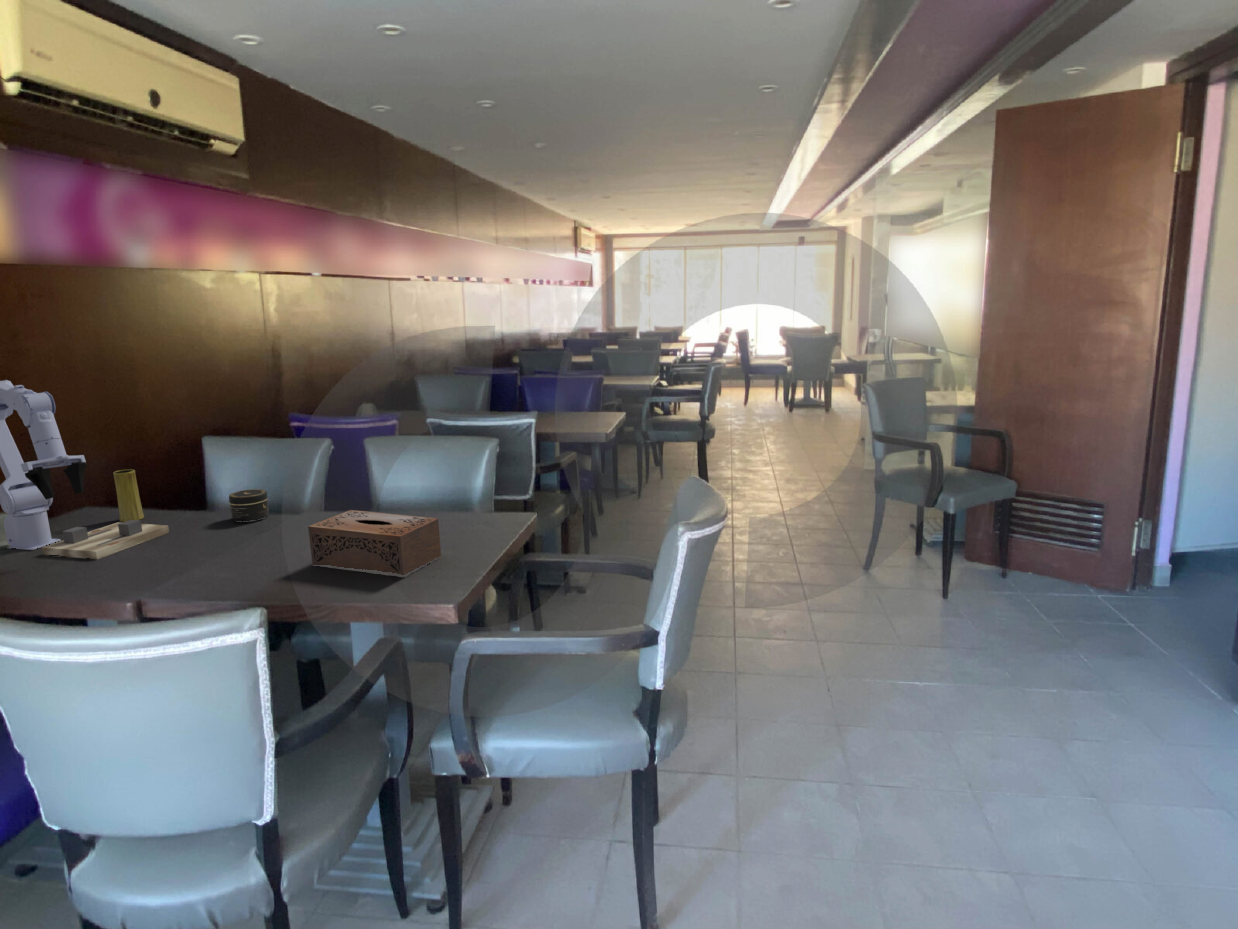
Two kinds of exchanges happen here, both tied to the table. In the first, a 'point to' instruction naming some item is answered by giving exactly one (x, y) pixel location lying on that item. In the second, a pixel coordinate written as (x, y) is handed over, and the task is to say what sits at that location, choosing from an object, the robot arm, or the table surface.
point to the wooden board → (104, 542)
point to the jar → (249, 505)
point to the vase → (128, 495)
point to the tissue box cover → (375, 541)
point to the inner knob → (75, 535)
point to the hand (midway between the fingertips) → (65, 495)
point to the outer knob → (130, 527)
